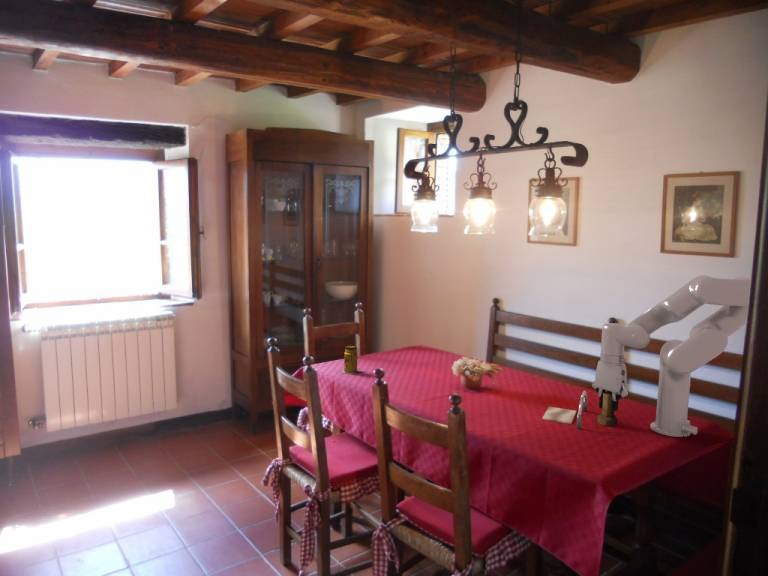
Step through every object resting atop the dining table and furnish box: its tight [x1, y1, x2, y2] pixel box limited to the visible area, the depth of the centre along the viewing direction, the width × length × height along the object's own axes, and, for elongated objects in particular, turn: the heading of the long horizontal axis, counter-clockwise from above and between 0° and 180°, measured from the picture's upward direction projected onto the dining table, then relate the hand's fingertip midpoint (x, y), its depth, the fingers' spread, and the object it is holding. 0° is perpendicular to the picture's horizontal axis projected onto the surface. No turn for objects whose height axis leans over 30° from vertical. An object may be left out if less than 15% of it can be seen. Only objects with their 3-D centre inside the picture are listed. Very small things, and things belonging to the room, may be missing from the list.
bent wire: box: [576, 390, 588, 430], centre depth 208 cm, size 1×21×10 cm, turn 155°
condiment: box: [340, 345, 364, 376], centre depth 266 cm, size 7×8×12 cm
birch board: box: [542, 406, 577, 425], centre depth 212 cm, size 10×14×1 cm
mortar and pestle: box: [597, 391, 618, 427], centre depth 204 cm, size 7×6×18 cm
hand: (608, 408), depth 204 cm, fingers closed on mortar and pestle, 3 cm apart
